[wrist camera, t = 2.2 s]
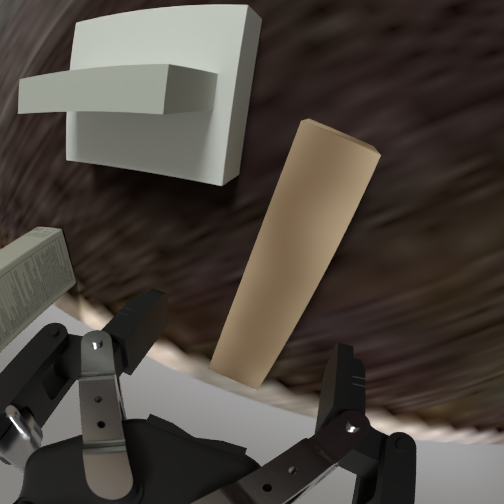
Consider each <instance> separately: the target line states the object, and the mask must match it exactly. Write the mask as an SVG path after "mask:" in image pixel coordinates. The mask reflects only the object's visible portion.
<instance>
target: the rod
mask: <svg viewBox="0 0 504 504" xmlns="http://www.w3.org/2000/svg"><path fill="white" fill-rule="evenodd" d="M380 156H381V155H380V154H379V153H378V151H377V150H376V149H375V148H374V147H373V146H371V145H369V144H367V143H365V142H363V141H360V140H358V139H356V138H354V137H351V136H349V135H347V134H345V133H342V132H340V131H338V130H335V129H333V128H331V127H328V126H326V125H323V124H321V123H318V122H316V121H313V120H311V119H306V120H302V121H301V123H300V126H299V128H298V131H297V134H296V136H295V139H294V142H293V144H292V147H291V150H290V152H289V155H288V158H287V160H286V163H285V166H284V168H283V171H282V174H281V176H280V179H279V182H278V184H277V187H276V190H275V192H274V195H273V198H272V200H271V203H270V205H269V208H268V211H267V213H266V216H265V219H264V221H263V224H262V227H261V229H260V232H259V235H258V237H257V240H256V243H255V245H254V248H253V251H252V253H251V256H250V259H249V261H248V264H247V267H246V269H245V272H244V275H243V277H242V280H241V283H240V285H239V288H238V291H237V293H236V296H235V299H234V301H233V304H232V307H231V309H230V312H229V315H228V317H227V320H226V323H225V325H224V328H223V331H222V333H221V336H220V339H219V341H218V344H217V347H216V349H215V352H214V355H213V357H212V360H211V363H210V365H209V369H211V370H213V371H215V372H217V373H219V374H222V375H224V376H226V377H228V378H231V379H233V380H235V381H238V382H240V383H242V384H245V385H247V386H249V387H252V388H254V389H257V390H258V388H259V387H260V385H261V384H262V382H263V380H264V379H265V377H266V375H267V374H268V372H269V370H270V369H271V367H272V365H273V364H274V362H275V360H276V359H277V357H278V355H279V354H280V352H281V350H282V348H283V347H284V345H285V343H286V342H287V340H288V338H289V336H290V335H291V333H292V331H293V329H294V328H295V326H296V324H297V322H298V321H299V319H300V317H301V315H302V313H303V312H304V310H305V308H306V306H307V304H308V303H309V301H310V299H311V297H312V295H313V293H314V291H315V290H316V288H317V286H318V284H319V282H320V280H321V278H322V276H323V275H324V273H325V271H326V269H327V267H328V265H329V263H330V261H331V259H332V257H333V255H334V253H335V251H336V249H337V247H338V245H339V243H340V241H341V239H342V237H343V235H344V233H345V231H346V229H347V227H348V225H349V223H350V221H351V219H352V217H353V215H354V213H355V211H356V209H357V207H358V204H359V202H360V200H361V198H362V196H363V194H364V192H365V189H366V187H367V185H368V183H369V181H370V178H371V176H372V174H373V172H374V170H375V167H376V165H377V163H378V161H379V158H380Z"/></svg>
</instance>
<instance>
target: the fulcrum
mask: <svg viewBox="0 0 504 504" xmlns="http://www.w3.org/2000/svg"><path fill="white" fill-rule="evenodd" d="M261 24H262V19H261V18H260V16H259V15H258V14H257V13H256V12H254V11H253V10H252V9H251V8H250V7H249V6H248V5H190V6H175V7H164V8H155V9H146V10H139V11H132V12H126V13H120V14H114V15H109V16H104V17H99V18H95V19H90V20H86V21H82V22H78V23H76V28H75V34H74V41H73V48H72V55H71V64H70V71H63V72H57V73H51V74H45V75H39V76H34V77H29V78H24V79H20V83H19V102H18V114H22V113H38V112H67V123H66V160H71V161H78V162H85V163H92V164H99V165H106V166H113V167H119V168H125V169H132V170H138V171H144V172H150V173H155V174H161V175H167V176H172V177H178V178H183V179H188V180H194V181H199V182H204V183H209V184H214V185H219V186H223V185H224V184H226V183H227V182H229V181H230V180H232V179H233V178H235V177H236V176H238V175H239V171H240V163H241V156H242V149H243V142H244V135H245V128H246V121H247V114H248V107H249V100H250V94H251V87H252V80H253V74H254V68H255V61H256V55H257V48H258V42H259V36H260V30H261Z"/></svg>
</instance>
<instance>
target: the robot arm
mask: <svg viewBox="0 0 504 504" xmlns="http://www.w3.org/2000/svg"><path fill="white" fill-rule="evenodd" d="M167 321H168V295H167V294H166V293H164V292H161V291H158V290H155V289H151V290H150V291H149V292H148V293H147V294H146V295H145V296H144V297H143V296H140V295H139V296H137V297H135V298H133V299H131V300H130V301H129V302H128V303H127V304H126V305H125V306H124V308H122V309H121V310H120V311H119V313H117V314H116V315H115V316H114V317H113V318H112V320H111V321H110V322H109V323H108V324H107V325H106V326H105V327H104V328H103V329H102V330H101V331H100V330H95V331H91V332H88V333H87V334H85V335H84V336H78V335H72V334H68V332H67V329H66V327H65V326H64V325H62V324H60V323H51V324H48V325H46V326H44V327H43V328H42V329H41V330H40V331H39V332H38V333H37V334H36V335H35V336H34V337H33V339H31V341H30V342H29V343H28V344H27V345H26V346H25V347H24V348H23V349H22V350H21V351H20V352H19V353H18V355H16V357H15V358H14V359H13V360H12V361H11V362H10V363H9V364H8V365H7V367H6V368H5V369H4V370H3V371H2V372H1V373H0V460H1V461H2V462H4V463H5V464H9V465H13V466H15V467H16V468H18V469H19V470H20V471H21V472H23V473H24V480H23V486H22V490H21V493H20V495H19V498H18V499H17V500H16V501H15V502H14V503H13V504H293V503H294V502H296V501H297V500H298V499H300V498H301V497H302V496H303V495H305V494H306V493H307V492H308V491H309V490H310V489H312V488H313V487H314V486H315V485H317V484H318V483H319V482H320V481H322V480H323V479H324V478H325V477H326V476H328V475H329V474H330V473H331V472H332V471H333V470H335V469H336V468H337V467H338V466H340V467H342V468H344V469H346V470H348V471H350V472H352V473H354V474H357V478H356V483H355V489H354V494H353V500H352V504H414V501H415V484H416V444H415V441H414V440H413V438H412V437H411V436H409V435H408V434H406V433H403V432H396V433H393V434H391V435H390V436H388V435H386V434H384V433H381V432H379V431H377V430H375V429H374V428H373V427H372V426H371V425H370V422H369V420H368V418H367V417H366V416H365V367H364V365H363V363H362V361H361V360H360V359H355V358H353V346H350V345H345V344H341V343H336V345H335V347H334V350H333V352H332V354H331V356H330V359H329V361H328V363H327V365H326V368H325V371H324V374H323V380H322V388H321V395H320V402H319V409H318V416H317V422H316V429H315V435H313V436H312V437H311V438H309V439H307V438H305V439H303V440H301V441H300V442H298V443H297V444H295V445H294V446H292V447H291V448H289V449H288V450H287V451H285V452H284V453H282V454H281V455H279V456H278V457H276V458H274V459H273V460H271V461H270V462H268V463H267V464H265V465H264V466H262V467H261V466H260V465H259V464H258V463H257V462H256V461H255V460H253V459H252V458H250V457H249V456H247V455H245V452H246V449H247V448H244V447H241V446H237V445H234V444H231V443H227V442H224V441H219V440H210V439H201V438H195V437H193V436H191V435H190V434H188V433H186V432H185V431H184V430H182V429H181V428H179V427H178V426H176V425H175V424H173V423H171V422H168V421H166V420H164V419H161V418H159V417H157V416H154V415H152V414H150V415H149V417H148V419H147V420H146V419H127V418H126V414H125V409H124V403H123V397H122V392H121V385H120V379H119V377H120V375H121V374H122V373H123V372H124V373H126V374H128V375H131V374H132V373H133V372H134V370H135V369H136V368H137V366H138V365H139V363H140V362H141V361H142V359H143V358H144V357H145V355H146V354H147V352H148V351H149V350H150V348H151V347H152V346H153V344H154V343H155V342H156V340H157V339H158V338H159V336H160V335H161V333H162V332H163V331H164V329H165V327H166V325H167ZM76 380H79V397H80V414H81V425H82V435H79V436H76V437H73V438H70V439H67V440H63V441H60V442H57V443H53V444H50V445H46V446H43V447H41V441H42V438H43V433H42V430H41V428H42V427H43V425H44V424H45V422H46V421H47V420H48V418H49V416H50V415H51V414H52V412H53V411H54V410H55V408H56V407H57V405H58V404H59V403H60V401H61V400H62V398H63V397H64V396H65V394H66V393H67V392H68V390H69V389H70V387H71V386H72V384H73V383H74V382H75V381H76Z"/></svg>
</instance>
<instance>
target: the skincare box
mask: <svg viewBox="0 0 504 504" xmlns="http://www.w3.org/2000/svg"><path fill="white" fill-rule="evenodd" d="M75 284H76V280H75V276H74V273H73V269H72V265H71V262H70V258H69V254H68V250H67V246H66V243H65V239H64V235H63V231H62V229H57V228H49V227H37V228H35V229H33V230H32V231H30V232H28V233H27V234H25V235H23V236H21V237H20V238H18V239H17V240H15V241H13V242H12V243H10V244H9V245H7V246H6V247H4V248H2V249H1V250H0V352H1V351H2V350H3V349H4V348H5V347H6V346H7V345H8V344H9V343H10V342H11V341H12V340H13V339H15V338H16V337H17V335H19V334H20V333H21V332H22V331H23V330H24V329H25V328H26V327H27V326H28V325H29V324H30V323H32V322H33V321H34V320H35V319H36V318H37V317H38V316H39V315H40V314H42V313H43V312H44V311H45V310H46V309H47V308H48V307H49V306H51V305H52V304H53V303H54V302H55V301H56V300H57V299H59V298H60V297H61V296H62V295H63V294H64V293H65V292H67V291H68V290H69V289H70V288H71V287H72V286H74V285H75Z"/></svg>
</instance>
